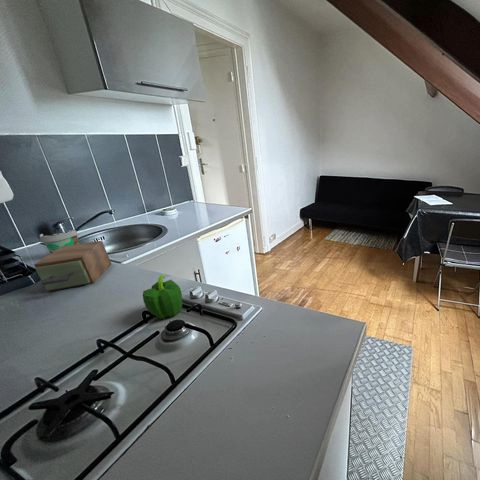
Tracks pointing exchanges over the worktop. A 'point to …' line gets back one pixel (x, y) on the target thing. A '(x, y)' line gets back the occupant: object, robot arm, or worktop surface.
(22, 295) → the worktop surface
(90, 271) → the cabinet
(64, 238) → the food container
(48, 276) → the drawer
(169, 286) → the bell pepper
